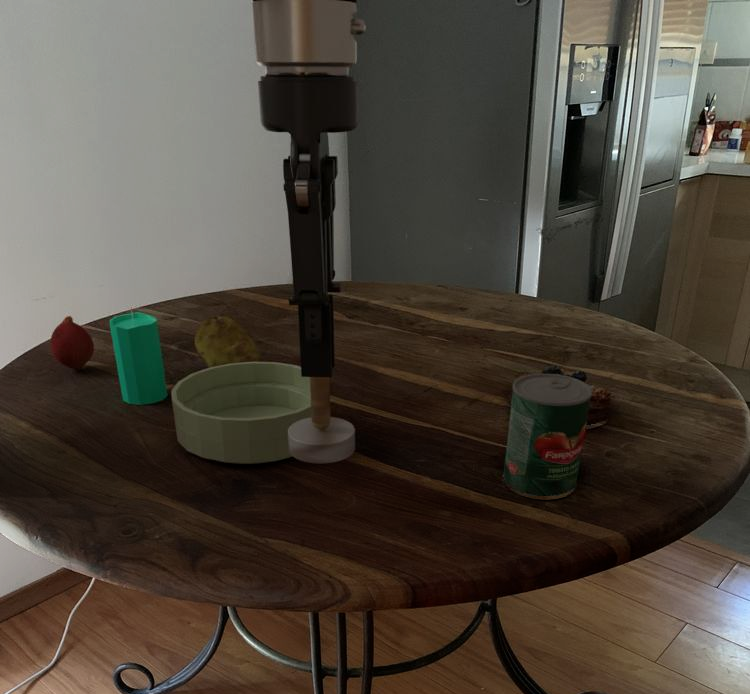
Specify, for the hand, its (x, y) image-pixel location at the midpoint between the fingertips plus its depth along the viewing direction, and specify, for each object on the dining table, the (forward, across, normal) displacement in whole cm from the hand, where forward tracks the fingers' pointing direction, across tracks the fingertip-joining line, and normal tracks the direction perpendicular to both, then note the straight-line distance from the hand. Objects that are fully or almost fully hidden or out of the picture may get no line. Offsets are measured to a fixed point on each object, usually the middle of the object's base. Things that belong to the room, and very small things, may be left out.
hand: (318, 370), depth 67 cm
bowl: (+15, +17, +10) cm, 25 cm away
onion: (+15, +37, +40) cm, 57 cm away
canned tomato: (+15, +7, -23) cm, 28 cm away
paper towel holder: (+8, 0, 0) cm, 8 cm away
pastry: (+15, +26, -28) cm, 41 cm away
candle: (+15, +28, +27) cm, 42 cm away
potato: (+15, +36, +17) cm, 43 cm away
